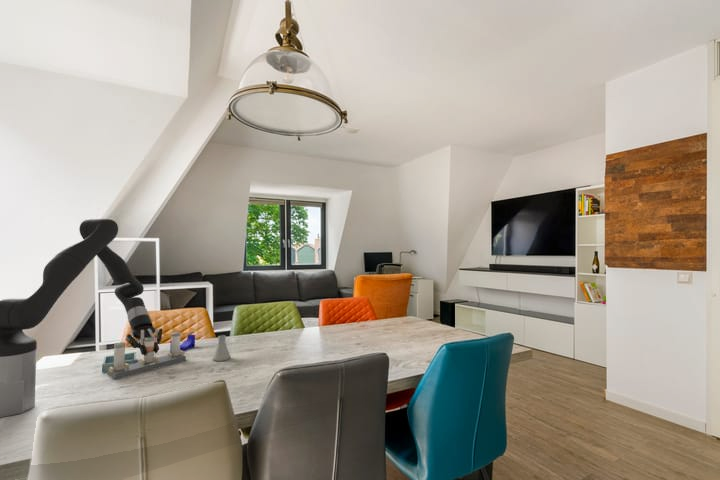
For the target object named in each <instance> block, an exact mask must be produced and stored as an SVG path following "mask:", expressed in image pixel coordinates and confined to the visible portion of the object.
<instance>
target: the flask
mask: <svg viewBox="0 0 720 480" xmlns="http://www.w3.org/2000/svg"><path fill="white" fill-rule="evenodd" d="M217 338H218V342H217V346H216V349H215V351H214V354H213V356H212V361H214V362H223V361H227V360H229V359H231V358H232V356H231V353H230V352H229V350H228V349H229V348H228V346H227V342H226V338H227V336H226V335H223V334H222V335H218V336H217Z"/></svg>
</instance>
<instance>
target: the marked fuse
mask: <svg viewBox="0 0 720 480" xmlns="http://www.w3.org/2000/svg"><path fill="white" fill-rule="evenodd" d="M144 345H145V347H146V350H147V354H146V355H145V356H144V355H143V360H144V363H152V362H154V357H155V352H154V336H150V337H145V338H144Z"/></svg>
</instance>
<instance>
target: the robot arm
mask: <svg viewBox="0 0 720 480" xmlns="http://www.w3.org/2000/svg"><path fill="white" fill-rule="evenodd" d="M78 229H79V233H80V236H81V238H82V239H83V240H80V241H79V242H78V241H77V243H74V244H73V245H70V246H68V247H66V248H64V249H63V250H61V251H59V252H58V253H56V254H55V255H54V256H53V257H52V259H50V260H49V261H48V262H47V264H46V265H45V266H44V269H43V273H42V284H41V285H40V286H39V288H38V289H36V291H34V293H33V294H32V295H31V296H29V297H26V298H4V299H2V300H0V418H3V417H9V416H13V415H18V414H23V413H25V412H26V411H28V410H30V409H32V408H33V407H35V406H36V379H37V378H36V376H37V375H36V373H37V372H36V371H37V354H38V353H37V347H38V346H37V345H38V343H37V340H36V339H35V338H33V337H30V336H28V335H27V334H25V332H24V331H23V330H30V329H34V328H35V327H37V326H38V325H39V324H41V323H42V321H43V320H44V319H45V318H47V317H46V316H48V315H49V313H50V311H51V310H52V308H53V307H54V305H55V304H56V302H57V301H58V300H59V298H60V297H61V295H62V294H64V292H65V291H66V290H67V288H68V287H69V286H70V285H71V284H72V283H73V282H74V281H75V280H76V279H77V278H78V276H79V275H80V274H81V273H82V272H83V271H84V270H85V268H86V267H87V266H88V265H89V264H90V263H91V262H92V261H93V259H94V258H95V257H96V256H97V258H98V259H99V260H100V261H101V262H102V264H103V265H104V266H105V269H106V270H107V272H108V273H109V276H110V277H111V279H112V280H113V282H114V283H115V284H120V285H118V286H116V288H115V289H114V294H115V296H116V298H117V299H118V300H119V301H120V303H121V304H122V305H123V307H124V310H125V312H126V315H127V320H128V323H129V326H130V329H131V334H130V333H128V334H127V335H126V337H125V340H126V342H127V343H129V345H130V346H131V348H133V349H139V350H140V353H141V355H143V357H144V356H145V355H146V354H147V350H146V347H145V345H144V338H145V337H150V336H154V354H157V353H158V352H159V350H160V346H159V345H158V344H160V343H161V341H162V339H163V336H162V335H163V328H159V329H156V328H155V327H154V325H153V321H152V319H151V317H150V315H149V314H150V313H149V311H148V309H147V308H146V305H145V302H144V300H143V298H142V297H138V296H139V295H142V294H143V292H144V290H145V289H144V288H145V287H144V286H143V284H142V283H141V281H139V279H137V278H136V277H135V276H134V275H133V273H132V272H131V270H130V267H129V266H128V264H127V262H126V261H125V259H123V258H122V257H121V256H120V255H119V254H117V253H116V252H115V251H113V250H112V249H111V248H110V247H109V246H108V245H110V243H112V242H113V241H114V240H115V238H116V237H117V235H118V232H119V225H118V223H117V222H116V221H115V220H113V219H111V218H90V219H85V220H82V222H80V225H79V227H78ZM155 335H156V336H155ZM136 339H137V340H138V341H137V340H136Z"/></svg>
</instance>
